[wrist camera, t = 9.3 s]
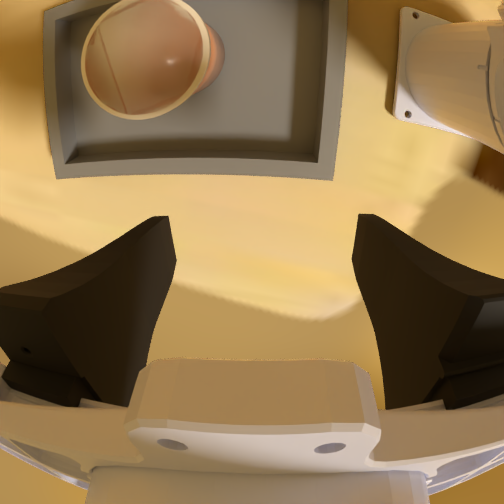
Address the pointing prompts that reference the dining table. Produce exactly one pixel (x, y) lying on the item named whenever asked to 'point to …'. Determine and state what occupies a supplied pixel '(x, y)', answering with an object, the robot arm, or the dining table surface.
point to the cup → (149, 57)
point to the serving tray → (210, 97)
